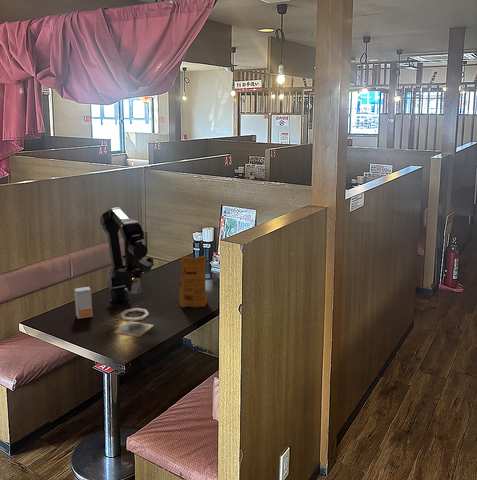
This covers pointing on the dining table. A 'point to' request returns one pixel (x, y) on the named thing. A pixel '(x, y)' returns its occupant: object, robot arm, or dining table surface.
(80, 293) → the skincare box
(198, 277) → the coffee package
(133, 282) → the round spotlight head
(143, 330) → the coaster board
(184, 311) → the dining table surface
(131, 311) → the collar
